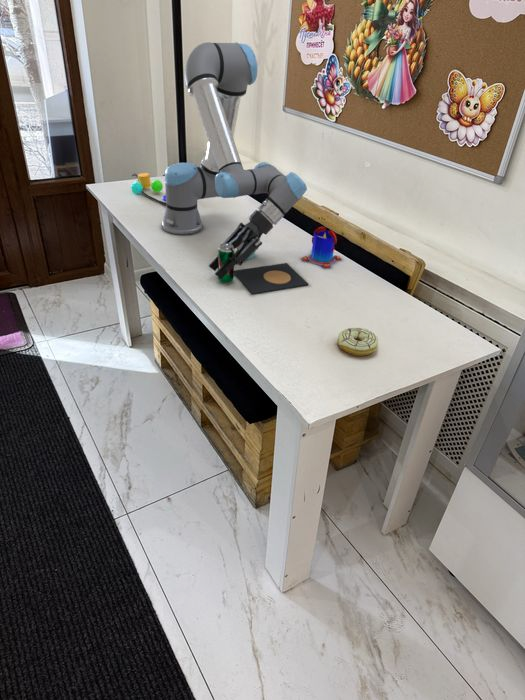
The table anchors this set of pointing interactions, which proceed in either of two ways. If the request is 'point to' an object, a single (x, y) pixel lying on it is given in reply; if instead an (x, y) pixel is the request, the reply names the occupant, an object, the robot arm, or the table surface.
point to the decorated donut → (357, 341)
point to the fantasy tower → (323, 248)
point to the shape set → (146, 184)
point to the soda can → (223, 255)
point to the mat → (270, 278)
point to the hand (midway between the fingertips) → (214, 272)
